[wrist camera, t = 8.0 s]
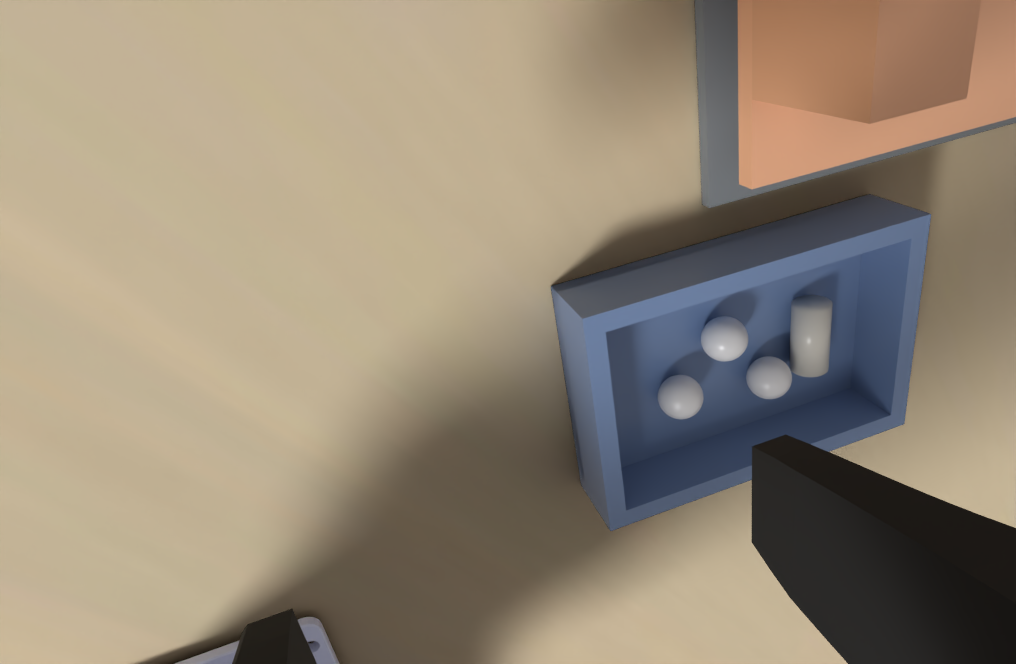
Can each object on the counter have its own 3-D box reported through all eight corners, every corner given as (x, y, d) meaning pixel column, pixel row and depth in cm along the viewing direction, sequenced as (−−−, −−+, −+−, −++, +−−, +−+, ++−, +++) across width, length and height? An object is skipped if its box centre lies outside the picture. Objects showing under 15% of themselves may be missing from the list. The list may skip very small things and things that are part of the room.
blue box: (853, 389, 26) (904, 423, 24) (581, 484, 24) (610, 531, 22) (870, 194, 22) (931, 214, 20) (550, 286, 20) (582, 319, 18)
